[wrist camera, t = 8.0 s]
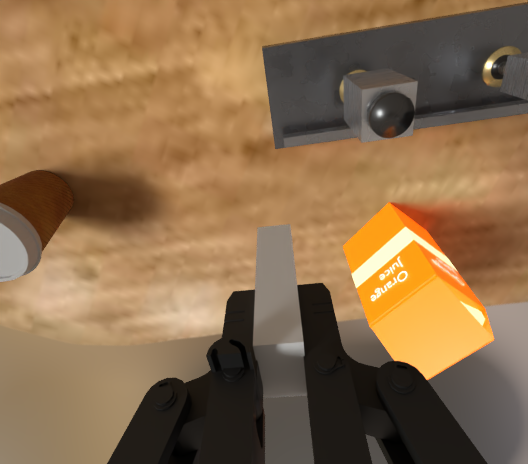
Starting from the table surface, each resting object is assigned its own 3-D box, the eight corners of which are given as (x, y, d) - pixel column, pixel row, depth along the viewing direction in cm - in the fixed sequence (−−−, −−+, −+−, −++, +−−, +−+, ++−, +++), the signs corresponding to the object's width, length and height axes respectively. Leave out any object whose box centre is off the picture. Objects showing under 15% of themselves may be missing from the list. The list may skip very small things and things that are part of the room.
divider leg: (380, 64, 32) (423, 83, 23) (378, 107, 34) (417, 139, 26) (338, 71, 33) (365, 92, 24) (339, 113, 35) (364, 146, 26)
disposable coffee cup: (20, 141, 39) (-65, 185, 29) (98, 187, 42) (46, 241, 32) (-2, 199, 43) (-82, 255, 33) (71, 236, 46) (18, 298, 36)
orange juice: (341, 246, 47) (384, 374, 30) (388, 201, 43) (467, 319, 26) (380, 271, 50) (439, 402, 33) (428, 231, 46) (523, 356, 29)
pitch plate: (557, -3, 31) (712, -12, 20) (527, 107, 37) (638, 146, 26) (262, 46, 34) (261, 61, 23) (274, 143, 39) (278, 193, 28)
